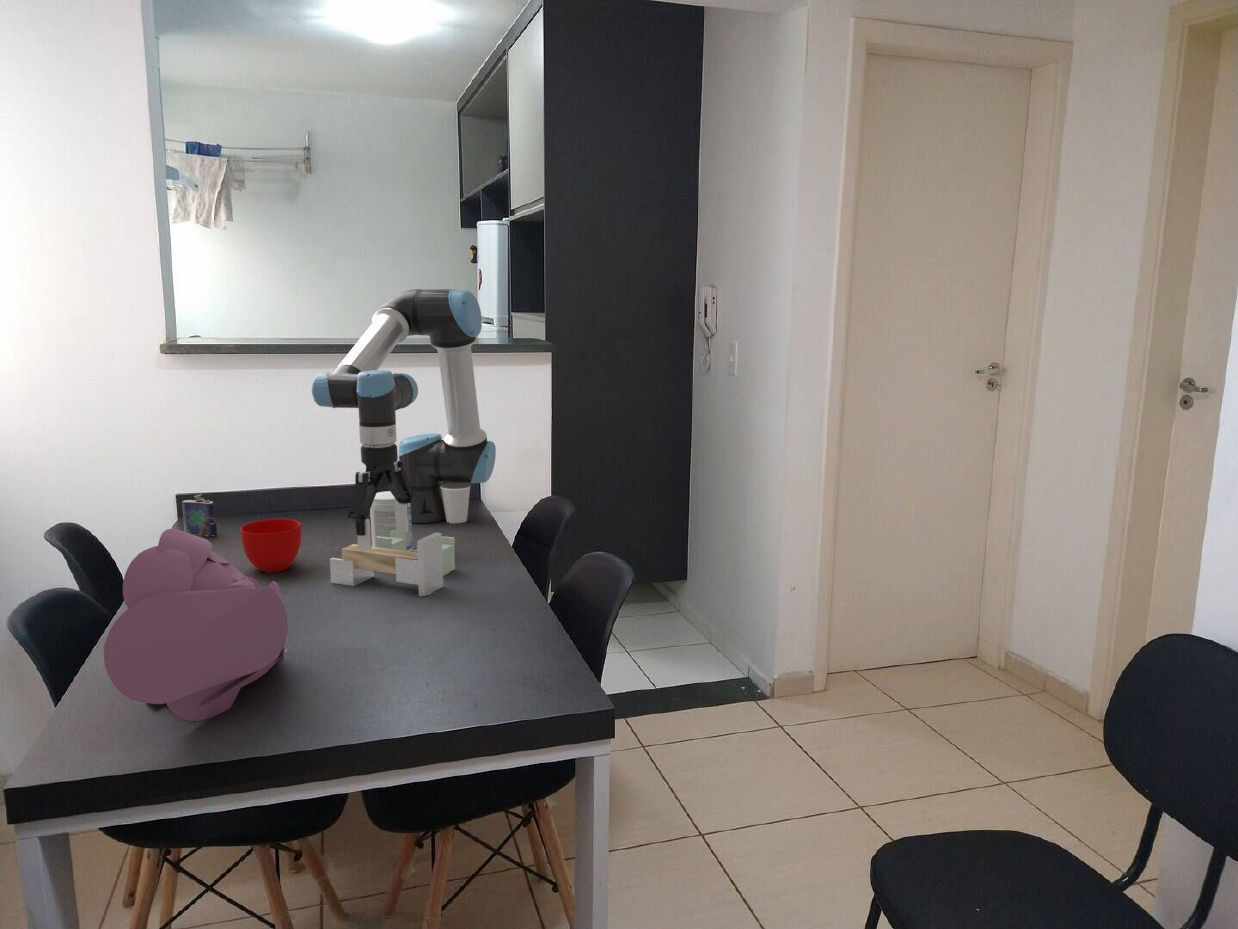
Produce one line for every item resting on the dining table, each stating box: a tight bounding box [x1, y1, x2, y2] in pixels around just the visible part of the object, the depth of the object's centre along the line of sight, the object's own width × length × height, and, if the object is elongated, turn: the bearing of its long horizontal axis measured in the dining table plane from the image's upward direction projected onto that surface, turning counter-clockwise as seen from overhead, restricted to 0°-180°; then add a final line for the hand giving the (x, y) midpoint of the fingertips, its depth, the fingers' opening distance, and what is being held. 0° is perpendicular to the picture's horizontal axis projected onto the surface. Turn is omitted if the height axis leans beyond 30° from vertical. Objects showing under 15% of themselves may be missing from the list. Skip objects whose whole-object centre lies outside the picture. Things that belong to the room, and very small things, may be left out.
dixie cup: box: [440, 482, 472, 524], centre depth 249 cm, size 8×8×10 cm
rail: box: [341, 543, 418, 575], centre depth 195 cm, size 4×19×4 cm, turn 69°
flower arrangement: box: [103, 528, 289, 722], centre depth 143 cm, size 35×24×28 cm
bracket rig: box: [329, 532, 444, 597], centre depth 195 cm, size 7×24×12 cm, turn 69°
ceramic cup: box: [240, 518, 302, 573], centre depth 208 cm, size 13×17×10 cm
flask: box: [181, 493, 218, 537], centre depth 233 cm, size 9×3×11 cm, turn 76°
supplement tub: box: [369, 490, 414, 552], centre depth 217 cm, size 10×10×15 cm
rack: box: [375, 530, 456, 577], centre depth 207 cm, size 7×17×8 cm, turn 69°
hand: (383, 540), depth 195 cm, fingers open, 13 cm apart
